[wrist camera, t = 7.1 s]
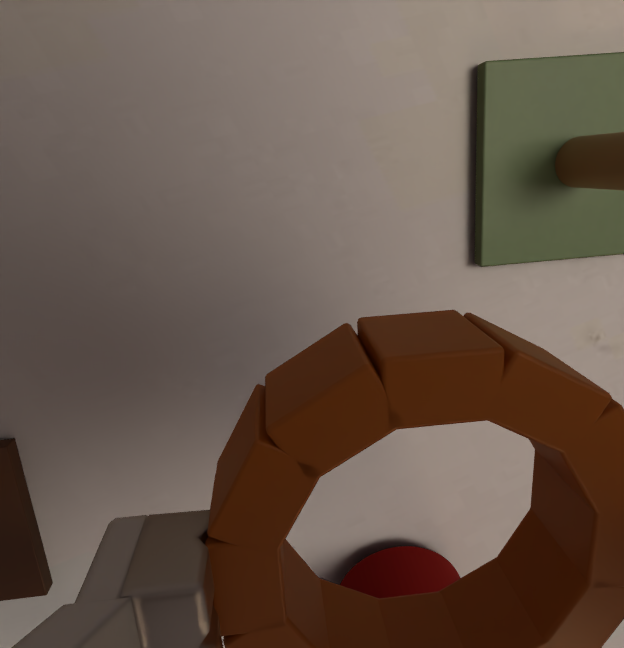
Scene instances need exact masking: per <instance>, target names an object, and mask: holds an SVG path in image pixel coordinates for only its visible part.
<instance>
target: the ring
mask: <svg viewBox="0 0 624 648" xmlns="http://www.w3.org/2000/svg"><path fill="white" fill-rule="evenodd" d="M357 328H358V336H357V334H356V333H355V331H354V330H353V328H352V327H351V325H350V324H348V323H345V324H343V325H341V326H340V327H338V328H337V329H335V330H334V331H332V332H331V333H329V334H328V335H326V336H325V337H323V338H322V339H320V340H318V341H317V342H315V343H314V344H312V345H311V346H309V347H308V348H306V349H305V350H303V351H302V352H300V353H299V354H297V355H296V356H294V357H292V358H291V359H289V360H288V361H286V362H285V363H283V364H282V365H280V366H279V367H277V368H276V369H274V370H273V371H271V372H270V373H268V374H267V375H266V376H265V386H263V385H260V384H257V385H256V386H255V388H254V390H253V392H252V394H251V396H250V398H249V400H248V402H247V404H246V406H245V408H244V410H243V412H242V414H241V416H240V418H239V420H238V422H237V424H236V426H235V428H234V430H233V432H232V434H231V436H230V438H229V440H228V442H227V444H226V446H225V448H224V450H223V452H222V454H221V456H220V458H219V460H218V463H217V470H216V474H215V480H214V487H213V493H212V500H211V507H210V517H209V523H208V530H207V534H208V538H207V539H206V542H205V545H206V546H207V547H208V550H209V556H210V563H211V569H212V576H213V582H214V589H215V590H214V598H213V606H214V608H215V610H216V612H217V614H218V616H219V624H220V631H221V636H224V645H225V647H226V648H601V647H602V646H603V645H604V643H605V642H606V641H607V640H608V638H609V637H610V636H611V634H612V633H613V632H614V631H615V629H616V628H617V627H618V626H619V624H620V623H621V622H622V620H623V619H624V409H623V407H622V405H620V404H619V403H617V402H616V401H615V400H613V399H612V397H611V395H610V394H609V393H608V392H606V391H605V390H604V389H602V388H601V387H599V386H598V385H596V384H595V383H593V382H592V381H590V380H589V379H587V378H586V377H584V376H583V375H581V374H580V373H578V372H577V371H575V370H574V369H573V368H571V367H570V366H568V365H567V364H565V363H564V362H562V361H561V360H559V359H558V358H556V357H555V356H553V355H552V354H550V353H549V352H547V351H546V350H544V349H543V348H541V347H538V346H536V345H534V344H532V343H530V342H528V341H526V340H524V339H522V338H520V337H518V336H516V335H514V334H512V333H510V332H508V331H506V330H504V329H502V328H500V327H498V326H496V325H494V324H492V323H490V322H488V321H486V320H484V319H482V318H480V317H478V316H475V315H473V314H471V313H466V314H465V315H464V316H462V315H461V314H460V313H458V312H457V311H455V310H446V311H434V312H422V313H410V314H398V315H386V316H374V317H362V318H359V319H358V322H357ZM485 420H488V421H490V422H492V423H495V424H497V425H499V426H501V427H504V428H506V429H508V430H510V431H513V432H515V433H517V434H519V435H522V436H524V437H526V438H528V439H529V440H530V442H531V443H532V445H533V447H534V448H535V457H534V470H533V483H532V496H531V508H530V510H529V511H528V513H527V514H526V516H525V517H524V518H523V520H522V521H521V523H520V524H519V526H518V527H517V529H516V530H515V532H514V533H513V534H512V536H511V537H510V539H509V540H508V542H507V543H506V545H505V546H504V548H503V549H502V551H501V552H500V553H499V555H498V556H497V557H496V558H495V559H493V560H491V561H489V562H488V563H486V564H484V565H483V566H481V567H479V568H477V569H476V570H474V571H472V572H471V573H469V574H467V575H466V576H464V577H462V578H460V579H459V580H457V581H455V582H454V583H452V584H450V585H449V586H447V587H445V588H443V589H442V590H440V591H438V592H430V593H422V594H413V595H405V596H397V597H388V598H380V599H379V598H376V597H373V596H370V595H367V594H364V593H361V592H358V591H355V590H352V589H349V588H347V587H344V586H341V585H338V584H335V583H332V582H329V581H326V580H323V579H320V578H318V577H317V576H316V574H315V573H314V572H313V571H312V570H311V568H310V567H309V566H308V565H307V564H306V563H305V561H304V560H303V559H302V558H301V557H300V556H299V554H298V553H297V552H296V551H295V550H294V548H293V547H292V546H291V545H290V544H289V543H288V541H287V540H286V539H285V538H286V537H287V535H288V533H289V531H290V530H291V528H292V526H293V524H294V522H295V521H296V519H297V517H298V515H299V514H300V512H301V510H302V508H303V506H304V505H305V503H306V501H307V499H308V497H309V496H310V494H311V492H312V490H313V489H314V487H315V485H316V483H317V481H318V480H319V478H320V477H321V476H323V475H324V474H326V473H327V472H329V471H331V470H332V469H334V468H335V467H337V466H339V465H340V464H342V463H343V462H345V461H347V460H348V459H350V458H351V457H353V456H355V455H356V454H358V453H359V452H361V451H363V450H364V449H366V448H367V447H369V446H371V445H372V444H374V443H375V442H377V441H379V440H380V439H382V438H383V437H385V436H387V435H388V434H390V433H391V432H393V431H395V430H396V429H404V428H414V427H424V426H434V425H444V424H454V423H465V422H475V421H485Z"/></svg>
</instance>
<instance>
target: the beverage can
mask: <svg viewBox="0 0 624 648" xmlns="http://www.w3.org/2000/svg"><path fill="white" fill-rule="evenodd" d="M459 579H460V576H459V574H458V573H457V571H456V569H455V568H454V567H453V565H452V564H451V563H450V562H449V561H448V560H446V559H445V558H444V557H443V556H441V555H439V554H438V553H436V552H433V551H431V550H428V549H425V548H420V547H413V546H399V547H392V548H388V549H384V550H381V551H378V552H376V553H373V554H371V555H369V556H368V557H366V558H364V559H363V560H361V561H360V562H359V563H357V564H356V565H355V566H354V567H353V568H352V569H351V570H350V571H349V572H348V573H347V574H346V576H345V577H344V579H343V580H342V582H341V584H340V585H341V586H344V587H347V588H349V589H352V590H355V591H358V592H361V593H364V594H367V595H370V596H373V597H376V598H379V599H380V598H388V597H397V596H405V595H413V594H422V593H430V592H438V591H440V590H442V589H443V588H445V587H447V586H449V585H450V584H452V583H454V582H455V581H457V580H459Z"/></svg>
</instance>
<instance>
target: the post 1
mask: <svg viewBox="0 0 624 648" xmlns="http://www.w3.org/2000/svg"><path fill="white" fill-rule="evenodd" d="M52 583H53V582H52V579H51V575H50V571H49V567H48V563H47V560H46V556H45V552H44V548H43V545H42V541H41V537H40V533H39V529H38V526H37V522H36V518H35V514H34V510H33V507H32V503H31V499H30V495H29V492H28V488H27V484H26V480H25V476H24V473H23V469H22V465H21V461H20V457H19V454H18V450H17V446H16V442H15V439H14V438H13V439H4V440H0V601H3V600H11V599H19V598H27V597H35V596H43V595H47V593H48V591H49V589H50V587H51V585H52Z"/></svg>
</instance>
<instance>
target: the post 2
mask: <svg viewBox="0 0 624 648" xmlns="http://www.w3.org/2000/svg"><path fill="white" fill-rule="evenodd" d="M616 254H624V52H618V53H603V54H588V55H573V56H558V57H543V58H528V59H513V60H497V61H486V62H484V63H481V64H479V65H478V74H477V139H476V205H475V264H477V265H479V266H481V267H485V266H496V265H507V264H518V263H529V262H540V261H551V260H562V259H573V258H584V257H595V256H605V255H616Z"/></svg>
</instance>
